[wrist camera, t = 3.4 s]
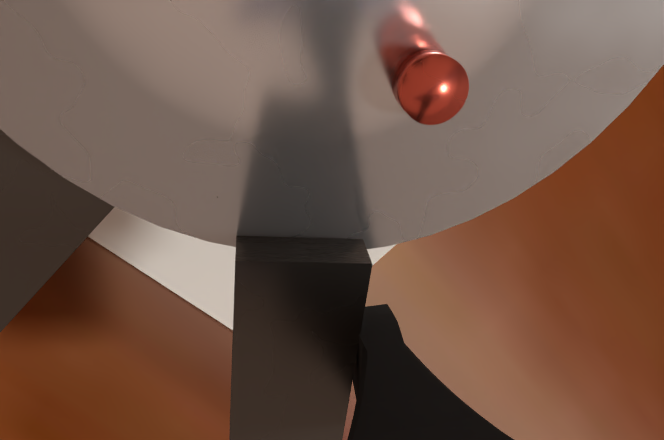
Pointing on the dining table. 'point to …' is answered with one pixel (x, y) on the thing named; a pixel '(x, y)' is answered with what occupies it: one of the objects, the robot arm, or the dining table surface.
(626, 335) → the dining table surface
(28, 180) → the pot
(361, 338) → the robot arm
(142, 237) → the board
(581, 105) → the lid
